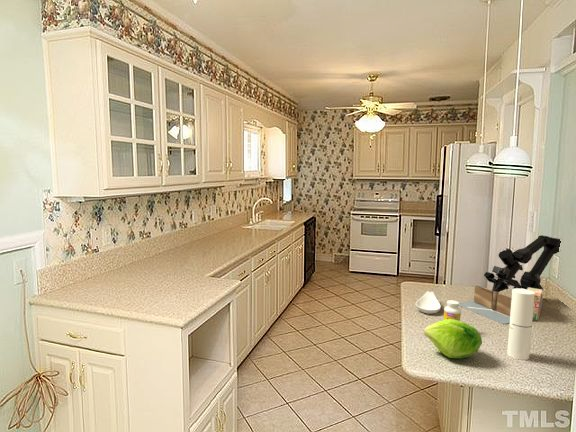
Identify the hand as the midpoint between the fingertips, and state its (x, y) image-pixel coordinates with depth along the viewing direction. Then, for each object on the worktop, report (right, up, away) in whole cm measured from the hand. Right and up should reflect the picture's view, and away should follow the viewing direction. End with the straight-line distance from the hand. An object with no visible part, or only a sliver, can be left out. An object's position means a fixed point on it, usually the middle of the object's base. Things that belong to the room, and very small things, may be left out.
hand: (492, 293), depth 198 cm
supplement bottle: (-34, -10, -30) cm, 46 cm away
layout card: (-5, -8, -6) cm, 11 cm away
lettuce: (-43, -13, -52) cm, 69 cm away
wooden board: (-4, -6, +1) cm, 8 cm away
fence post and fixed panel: (0, -8, -11) cm, 14 cm away
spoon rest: (-34, -8, -2) cm, 35 cm away
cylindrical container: (-18, -13, -53) cm, 57 cm away
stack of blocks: (+15, -8, -8) cm, 19 cm away
